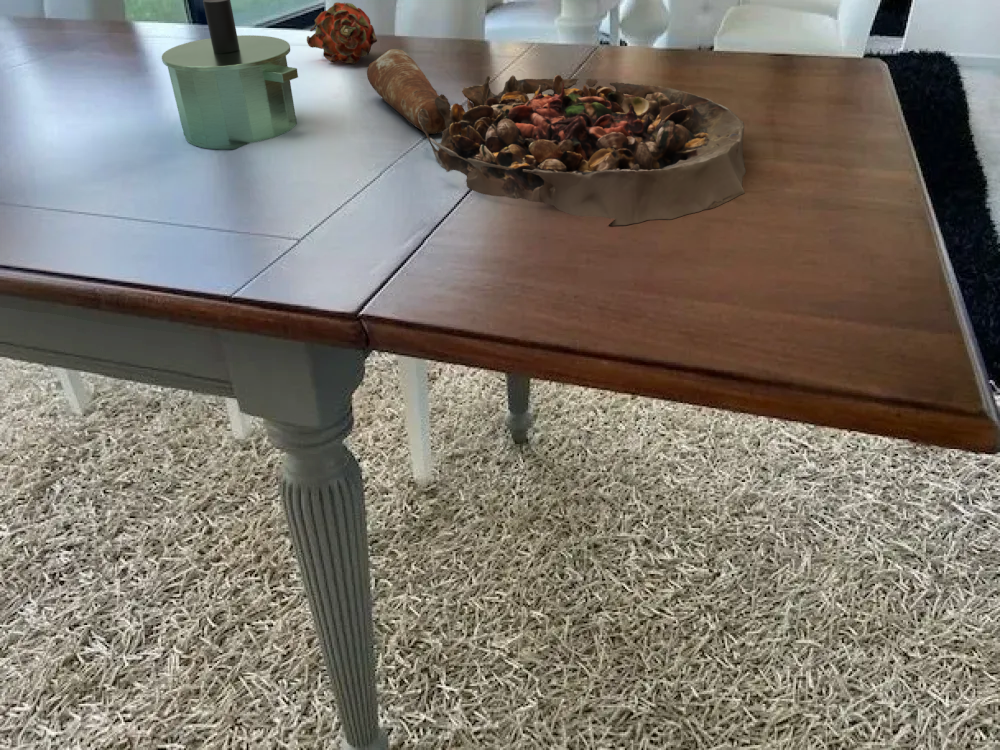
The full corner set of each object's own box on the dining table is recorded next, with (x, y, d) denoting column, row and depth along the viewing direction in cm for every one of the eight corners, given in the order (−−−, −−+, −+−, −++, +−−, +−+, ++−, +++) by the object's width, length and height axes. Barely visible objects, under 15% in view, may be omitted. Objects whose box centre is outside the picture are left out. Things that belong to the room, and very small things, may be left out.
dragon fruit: (366, 82, 120) (327, 77, 129) (401, 35, 121) (360, 34, 130) (323, 36, 114) (286, 34, 123) (361, -12, 115) (321, -10, 124)
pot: (261, 160, 91) (245, 79, 86) (145, 135, 98) (125, 59, 94) (337, 125, 99) (326, 50, 95) (225, 105, 107) (210, 34, 102)
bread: (415, 90, 110) (412, 45, 107) (458, 136, 95) (456, 85, 92) (367, 96, 109) (363, 50, 106) (403, 143, 94) (399, 92, 91)
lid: (228, 83, 87) (215, 18, 83) (136, 68, 93) (120, 6, 89) (316, 52, 96) (308, -8, 93) (228, 40, 102) (217, -17, 99)
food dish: (387, 136, 99) (381, 66, 94) (640, 103, 108) (644, 39, 104) (493, 250, 71) (491, 158, 67) (821, 193, 80) (837, 109, 76)
